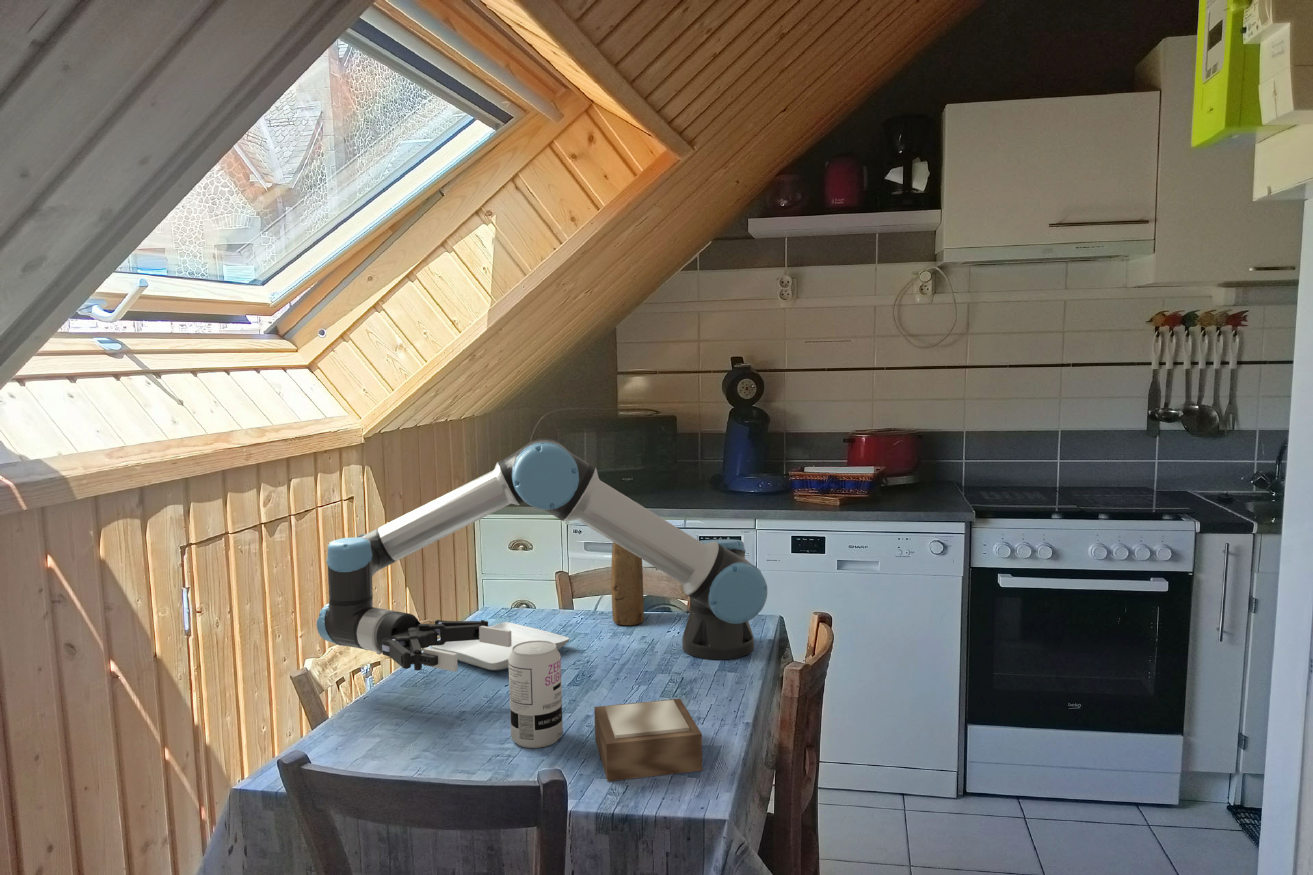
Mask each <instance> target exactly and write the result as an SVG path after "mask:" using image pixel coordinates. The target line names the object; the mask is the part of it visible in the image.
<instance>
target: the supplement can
mask: <svg viewBox="0 0 1313 875" xmlns="http://www.w3.org/2000/svg"><path fill="white" fill-rule="evenodd" d="M561 655H562V654H561V653H560V651H559V649H558V650H557V648H556V644H555V643H552V642H549V641H541V640H537V641H527V642H522V643H519V644H517V645H515V646H513V648H512V652H511V654H510V656H509V658H508V662H509V668H508V686H509V690H508V691H509V712H510V713H509V716H510V737H511V740H512V741H513V742H515V744H517V745H518V746H520V747H523V748H526V749H527V748H528V749H537V748H538V749H539V748H544V747H548V746H551V745H554V744H555V743H556V742H558V741H559V739H560V738H561V737H562V735H563V732H564V727H563V724H564V722H563V720H564V719H563V690H562V689H563V688H562V660H561V659H562V658H561V657H562V656H561Z"/></svg>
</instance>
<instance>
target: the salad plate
mask: <svg viewBox="0 0 1313 875" xmlns="http://www.w3.org/2000/svg"><path fill="white" fill-rule="evenodd" d="M489 627H493V628H499V629H504V630H510V631H511V639H512V646H511V647H505V646H499V645H494V644H488V643H483V642H479V640H467V641H452V642H445V644H443V645H434V646H430V648H431V649H436V650H441V651H447V652H452V653H457V661H459V662H462V663H465V664H469V665H471V666H474V667H479V668H481V669H485V670H489V671H502V670H506V669H509V662H508V658H509V656H510V654H511V652H512V648H513V646H515V645H517V644H519V643H522V642H527V641H537V640H541V641H549V642H552V643H555V644H556V648H557V650H558V651H559V650H560V649H561V648H563V647H564V646H565V645H566V644H568V642H569V641H570V637H568V636H566V635H565V636H564V635H562V634H559V633H554V632H550V631H546V630H543V629H539V628H535V627H531V626H526V625H522V624H517V623H513V622H508V621H505V622H501V623H497V624H494V625H491V626H489Z"/></svg>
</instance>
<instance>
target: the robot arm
mask: <svg viewBox="0 0 1313 875" xmlns="http://www.w3.org/2000/svg"><path fill="white" fill-rule="evenodd" d="M524 503H525V504H526V505H529V506H530V507H532V508H536V509H537V510H542V511H545V512H547V513H549V514H550V515H552V516H554V517H555V518H557V519H559V520H561V521H562V522H567V521H572V520H576V521H579V522H580V523H581V524H583V525H584V526H587V528H590V529H591V530H593V531H594V532H596V533H598V534H600V535H601V536H603V537H604V538H606V539H608V540H610V541H612V543H613V542H615V543H616V544H618V545H620V546H621V547H623V548H624V549H626V550H628V551H629V552H631V553H633V554H634V555H636V556H638V557H639V558H641V559H642V561H644V562H646V563H648V564H649V565H651V566H653V567H655V568H656V569H658V570H659V571H661V572H663V573H664V574H666V575H668V576H670V577H671V578H673V579H674V580H676V581H678V582H679V583H681V587H682V592H683V593H684V594H685V595H686V596H687V597H689V614H688V618H687V621H686V624H685V626H684V630H683V633H682V639H681V642H682V644H681V645H682V647H681V648H682V650H683V652H684V653H686V654H687V655H690V656H692V657H696V658H700V659H707V660H731V659H737V658H741V657H745V656H747V655H749V654H751V653H752V652H753V651H754V650H755V637H754V633H753V630H752V628H751V624H750V621H751V620H752V619H755V617H757V616H758V615H759V614H760V613H761V612H762V610H763V609H764V606H765V604H766V602H767V598H768V584H767V581H766V578H765V576H764V575H763V573H762V571H761V570H760V569H759V568H758V567H757V566H756V565H754V564H752V563H751V562H749V561H748V560H747V559H746V555H745V554H746V549H745V543H744V542H743V541H742V540H740V539H732V538H730V539H727V538H726V539H705V540H699V539H696V537H693V536H691V535H690V534H688V532H687V533H686V532H685V531H683V530H682V529H681V528H678V527H677V526H675V525H673V524H672V523H670V522H669V521H667V520H666V519H664V518H662V517H661V516H659V515H658V514H656V513H654V512H653V511H651V510H650V509H648V508H646V507H644V506H643V505H642V504H640V503H638V502H636V501H634V500H632V499H631V498H630V497H628V496H626V495H625V494H624V493H621V492H620V491H618V490H617V489H616V488H613V487H612V486H611V485H609V484H607V483H605V482H603V481H602V480H601V479H600V478H599V474H598V470H597V467H595V466H593V465H592V464H590V463H588V462H586V461H585V460H584V459H582V458H580V457H578V456H577V455H576V454H574V453H572V452H571V451H569V450H568V448H567V447H565V445H563V444H562V443H560V442H558V441H557V440H554V439H550V438H538V439H535V440H532V441H529V442H528V443H526V444H525V445H523V446H522V447H521V448H520V449H518V450H517V451H514V452H513V453H512V454H511V455H509V456H507V457H504V459H501V460H499V461H497V462H496V464H495V466H494V469H493V470H491V471H489V472H487V473H485V474H482V475H481V476H479V477H477V478H475V479H473V480H471V481H469V482H467V483H465V484H462V485H460V486H459V487H457V488H454V489H453V490H450V491H448V492H447V493H445V494H442V496H441V495H440V496H439V497H437V498H435V499H433V500H431V501H429V502H426V504H422V505H421V506H419V507H416V508H415V509H412V511H411V510H410V511H409V512H407V513H405V514H403V515H401V516H398V517H397V518H395V519H392V520H391V521H389V522H387V523H385V524H383V525H381V526H379V527H378V528H376V529H373V530H372V531H369V532H368V533H365V534H360V535H358V536H356V537H342V538H338V539H335V540H334V539H333V540H331V541H330V542H329V543H328V545H327V556H326V557H327V558H326V564H327V580H328V583H327V584H328V603H326V604H325V605H324V606H323V607H322V608H321V609H320V611H319V614H318V615H319V616H318V618H317V619H316V631H317V633H318V635H319V636H320V638H322V640H324V641H327V642H329V643H332V644H335V645H337V646H339V647H340V646H341V647H350V648H354V649H361V650H365V651H371V652H375V653H376V654H377V655H382V656H383V655H384V656H386V657H389V658H390V659H392V661H394V662H395V663H397V664H398V665H399V666H400V667H401V668H402V669H405V670H407V669H411V665H413V668H414V671H421V670H423V666H424V667H425V666H426V667H431V668H435V669H440V670H443V671H444V670H445V671H448V672H449V671H450V672H454V673H455V672H456V671H458V670H459V669H458V660H457V653H452V652H447V651H441V650H436V649H432V647H431V646H434V645H443V644H445V642H452V641H467V640H479V642H483V643H488V644H494V645H499V646H505V647H511V646H512V639H511V631H510V630H504V629H499V628H493V627H490V626H489V621H487V620H484V619H481V620H442V619H437V620H434V624H429V623H421V622H420V621H419V619H418V618H417V617H416V616H415V615H414V614H412V613H407V612H404V611H403V612H402V611H396V610H393V609H387V608H380V607H379V608H378V607H374V605H373V602H374V601H373V595H374V594H373V577H374V576H375V574H376V573H377V572H379V571H381V570H382V569H385V568H387V567H389V566H390V565H392V564H394V563H396V562H397V561H399V560H401V559H403V558H405V557H407V556H409V555H411V554H414V553H415V552H417V551H419V550H421V549H423V548H425V547H427V546H430V545H432V544H433V543H435V542H438V541H439V540H441V539H443V538H445V537H447V536H449V535H451V534H453V533H455V532H457V531H459V530H462V529H463V528H465V527H467V526H469V525H471V524H473V523H475V522H477V521H479V520H481V519H483V518H485V517H487V516H490V515H492V513H495V512H497V511H499V510H501V509H503V508H505V507H507V506H509V505H511V504H512V505H515V506H520V505H522V504H524ZM438 637H439V638H440V640H439V639H438Z"/></svg>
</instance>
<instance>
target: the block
mask: <svg viewBox="0 0 1313 875" xmlns="http://www.w3.org/2000/svg"><path fill="white" fill-rule="evenodd" d="M611 548H612V549H611V551H612V552H611V573H610V574H611V576H610V578H611V579H610V580H611V581H610V582H611V611H612V621H613V623H615V624H616V625H619V626H635V625H639V624H641V623H644V620H645V606H644V605H645V603H644V600H645V599H644V598H645V597H644V577H643V574H644V571H643V559H641V558H639V557H638V556H636V555H634V554H633V553H631V552H629V551H628V550H626V549H624V548H623V547H621V546H620V545H618V544H616V543H615V542H613V541H612V547H611Z"/></svg>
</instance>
